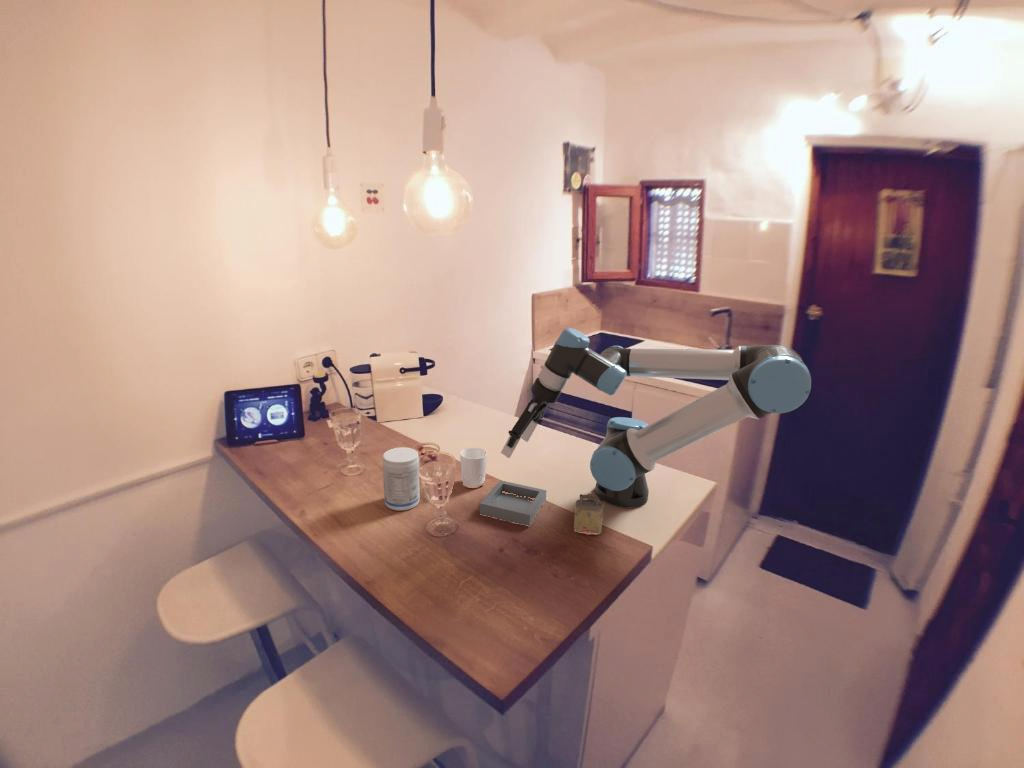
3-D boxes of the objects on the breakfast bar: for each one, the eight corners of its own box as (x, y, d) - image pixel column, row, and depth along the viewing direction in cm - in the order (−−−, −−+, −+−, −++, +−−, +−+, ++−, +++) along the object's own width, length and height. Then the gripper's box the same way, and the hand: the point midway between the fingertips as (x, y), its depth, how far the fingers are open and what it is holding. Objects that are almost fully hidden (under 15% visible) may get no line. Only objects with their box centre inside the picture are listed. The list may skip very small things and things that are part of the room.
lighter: (600, 528, 127) (604, 493, 124) (602, 537, 124) (605, 501, 121) (573, 526, 128) (575, 491, 125) (573, 534, 124) (576, 499, 121)
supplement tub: (387, 494, 140) (385, 446, 136) (421, 493, 141) (420, 446, 137) (382, 512, 131) (379, 462, 127) (418, 511, 132) (417, 461, 128)
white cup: (482, 491, 143) (483, 460, 140) (456, 488, 145) (456, 457, 142) (489, 479, 151) (489, 449, 148) (464, 476, 152) (464, 446, 149)
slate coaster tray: (545, 503, 139) (546, 490, 138) (529, 528, 127) (530, 515, 125) (499, 492, 144) (500, 480, 143) (479, 516, 131) (479, 503, 130)
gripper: (552, 367, 141) (520, 426, 149) (520, 386, 119) (484, 454, 127) (574, 381, 140) (540, 440, 148) (546, 403, 117) (508, 470, 125)
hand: (514, 446), depth 137 cm, fingers open, 13 cm apart
